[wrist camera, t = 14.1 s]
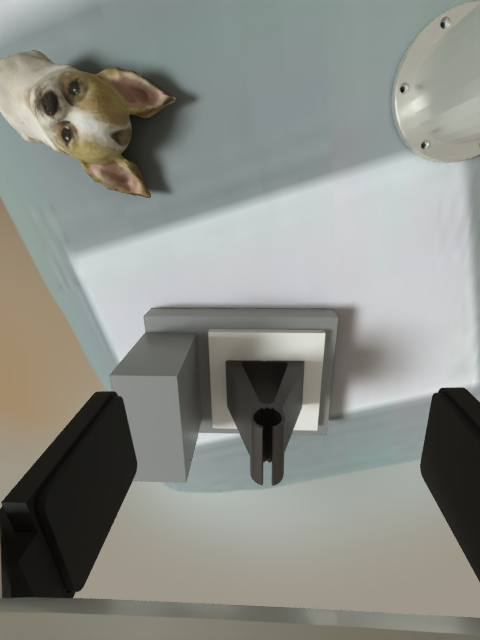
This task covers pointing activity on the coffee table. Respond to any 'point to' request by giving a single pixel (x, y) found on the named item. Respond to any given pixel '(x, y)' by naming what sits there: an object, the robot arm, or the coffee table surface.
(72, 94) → the ceramic sculpture
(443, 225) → the coffee table surface
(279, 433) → the phone stand
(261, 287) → the coffee table surface
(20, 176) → the coffee table surface
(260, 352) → the grey bracket with tile
